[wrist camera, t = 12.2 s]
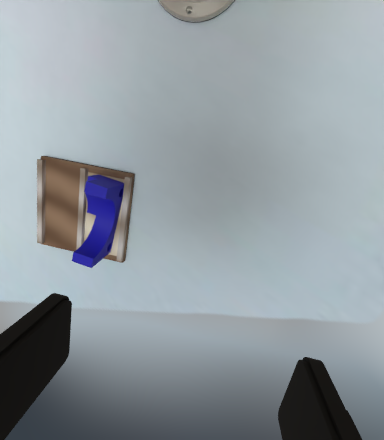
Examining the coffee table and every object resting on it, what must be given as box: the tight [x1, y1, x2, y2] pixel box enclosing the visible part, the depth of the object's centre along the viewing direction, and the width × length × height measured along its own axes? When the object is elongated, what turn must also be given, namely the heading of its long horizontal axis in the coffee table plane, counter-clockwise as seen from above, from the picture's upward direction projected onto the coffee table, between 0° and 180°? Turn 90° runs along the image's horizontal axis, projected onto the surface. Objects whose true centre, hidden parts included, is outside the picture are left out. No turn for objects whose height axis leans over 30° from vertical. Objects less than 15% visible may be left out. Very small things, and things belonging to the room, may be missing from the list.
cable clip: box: [72, 175, 124, 268], centre depth 35 cm, size 12×4×6 cm, turn 163°
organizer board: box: [37, 156, 135, 263], centre depth 38 cm, size 15×15×2 cm
